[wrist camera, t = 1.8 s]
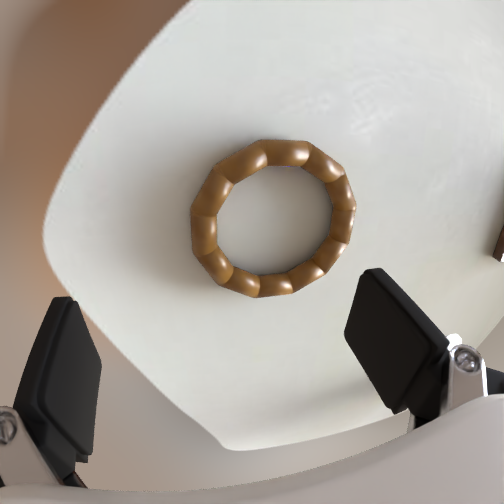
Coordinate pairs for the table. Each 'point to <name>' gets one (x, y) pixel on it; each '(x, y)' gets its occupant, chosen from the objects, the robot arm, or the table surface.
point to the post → (500, 248)
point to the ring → (241, 168)
